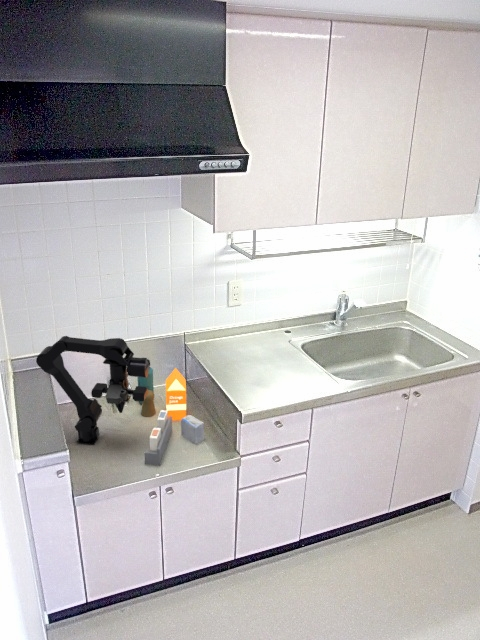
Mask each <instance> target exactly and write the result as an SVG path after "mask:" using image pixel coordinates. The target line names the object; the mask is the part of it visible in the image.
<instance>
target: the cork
mask: <svg viewBox="0 0 480 640" xmlns="http://www.w3.org/2000/svg"><path fill="white" fill-rule="evenodd" d="M153 399H154V400H155V391H154V392H153V391H151V390H148V394H147V396H146V398H145V400H144V401H142V403H141V411H140V414H141V416H142V417H143V418H152V417H154V416H155V415H156V406H155V401H154V400H153Z"/></svg>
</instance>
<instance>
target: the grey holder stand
mask: <svg viewBox="0 0 480 640" xmlns="http://www.w3.org/2000/svg"><path fill="white" fill-rule="evenodd" d="M172 433H173V421H172V416H169V418H168V421H167V423H166V426H165V429H164V431H163V433H161V439H160V442H159V444H158V447H157V452H154V451H150V450H145V451H144V452H143V453H144V464H145V465H149V466H150V465H151V466H161V464H162V461H163V458H164V455H165V452H166V450H167V447H168V445H169V441H170V438H171V437H172Z"/></svg>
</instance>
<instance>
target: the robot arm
mask: <svg viewBox="0 0 480 640" xmlns="http://www.w3.org/2000/svg"><path fill="white" fill-rule="evenodd" d="M64 352H71V353H72V352H73V353H83V354H89V355H90V354H91V355H92V354H93V355H99V356H101V357H102V358H104V360H103V361H102V363H103V364H104V365H109V374H110V375H109V382H108V383H109V385H108V384H107V383H102V382H96V383H95V384H94V386H93V388H91V397H92V398H94V399H91V398H88V397H87V396H86V394H85V393H84V391H83V390H82V389H81V387H80V386H79V385H78V383H77V382H76V381H75V380H74V378H73V376H72V375H71V373H70V372H69V371H68V370H67V368H66V367H65V363H64V358H63V356H62V354H63V353H64ZM124 355H125V356H124ZM134 355H135V353H134V352H133V350H132V349H130V347H129V346H128V343H127V342H126V341H125V340H124V339H123V338H120V337H115V338H114V337H113V338H107V339H103V340H97V339H90V338H89V339H88V338H80V337H70V336H69V335H64V336H61V337H60V338H59V340H58V341H56V342H55V343H54V344H52V345H48V346H46V347H44V349H43V350H42V351H41V352H40V353H39V354H38V355H37V356H36V365H37V366H38V367H39V368H40V369H41V370H42V371H43V372H44V373H46V374H48V375H51V376H52V377H53V378H54V379H55V381H56V382H57V384H58V385H59V386H60V388H61V389H62V390H63V391H64V393H65V395H67V397H68V398H69V399H70V400H71V403H72V404H74V406H75V408H76V413H77V417H78V420H77V422H76V424H75V426H74V428H75V430H76V431H77V436H78V439H77V441H76V443H77V444H83V445H90V446H91V445H95V444H96V442H97V441H98V439H99V437H100V430H99V429H100V428H99V426H98V423H97V422H98V421H99V419H100V417H101V415H102V414H103V408H102V407H103V406H102V405H101V404H100V403H99V401H98V400H97V399H100V398H102V397H103V394H105V400H106V403H107V404H112V405H113V404H114V405H115V407H116V408H117V411H118V412H119V414H122V413H123V412H124V409H125V406H126V402H129V401H130V399H131V397H132V400H133V401H135V402H139V401H144V400H145V398H146V396H147V394H148V389H147V388H146V387H141V386H138V385H136V386H135V388H134V389H132V388H130V386H129V384H130V383H128V376H129V377H132V378H133V377H135V378H136V377H137V378H138V377H145V378H147V376H148V373H149V367H150V366H149V363H148V361H147V359H148V358H147V357H135V356H134Z"/></svg>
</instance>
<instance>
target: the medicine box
mask: <svg viewBox="0 0 480 640" xmlns="http://www.w3.org/2000/svg"><path fill="white" fill-rule="evenodd" d="M180 425H181V426H180V427H181V429H180V431H181V433H180V434H181V436H182V437H184V438H185V439H187V441H188V440H189V441H190V442H191V443H193V444H195V445H197V444H199V443H201V442H202V441H204V439H205V423H204V422H203V421H202V420H200V419H198V418H197V417H195V416H193V415H191V414H188V415H186V417H184V418H182V419H181V420H180Z"/></svg>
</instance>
